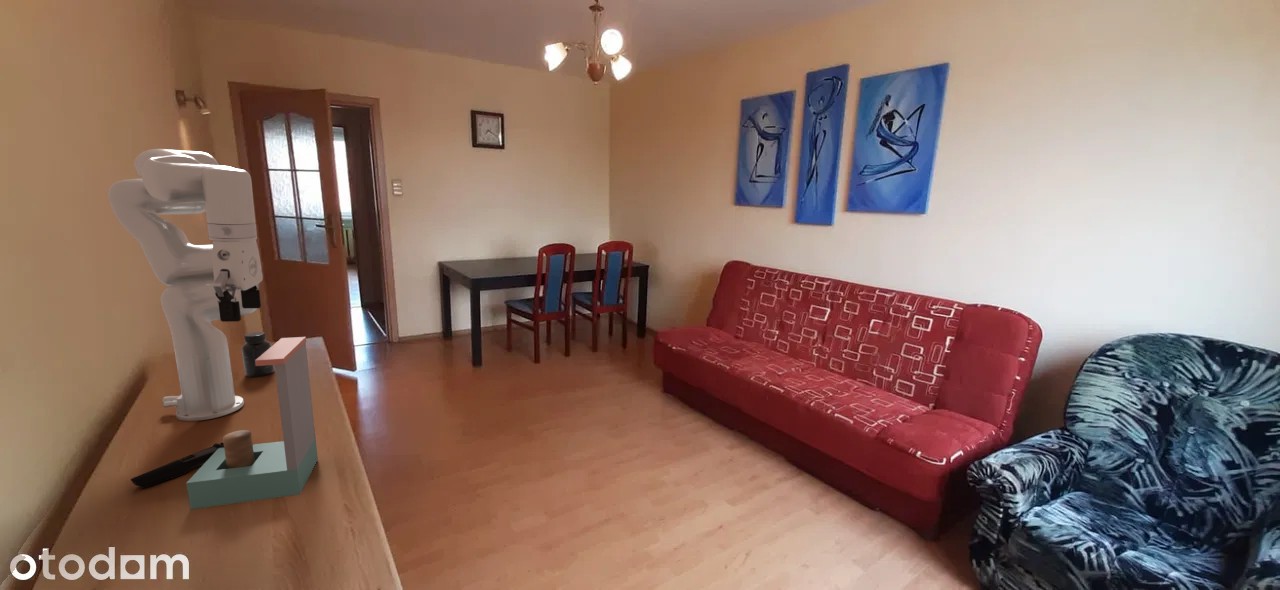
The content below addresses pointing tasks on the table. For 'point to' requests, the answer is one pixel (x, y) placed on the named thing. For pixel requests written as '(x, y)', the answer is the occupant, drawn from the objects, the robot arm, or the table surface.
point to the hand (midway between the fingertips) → (241, 314)
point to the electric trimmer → (175, 467)
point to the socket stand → (275, 462)
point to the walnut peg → (239, 449)
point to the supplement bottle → (255, 354)
